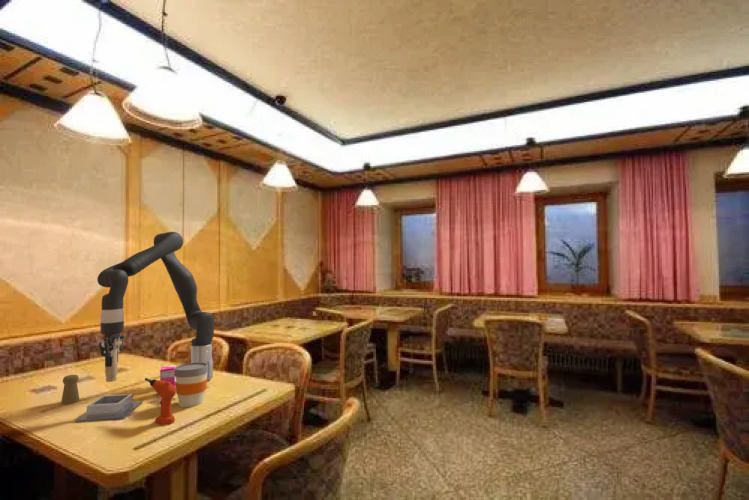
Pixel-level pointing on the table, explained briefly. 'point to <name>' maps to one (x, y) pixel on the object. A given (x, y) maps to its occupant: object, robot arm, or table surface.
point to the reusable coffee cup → (191, 383)
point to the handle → (113, 365)
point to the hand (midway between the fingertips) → (111, 364)
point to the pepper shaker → (70, 390)
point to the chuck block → (110, 408)
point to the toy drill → (164, 400)
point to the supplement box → (168, 374)
